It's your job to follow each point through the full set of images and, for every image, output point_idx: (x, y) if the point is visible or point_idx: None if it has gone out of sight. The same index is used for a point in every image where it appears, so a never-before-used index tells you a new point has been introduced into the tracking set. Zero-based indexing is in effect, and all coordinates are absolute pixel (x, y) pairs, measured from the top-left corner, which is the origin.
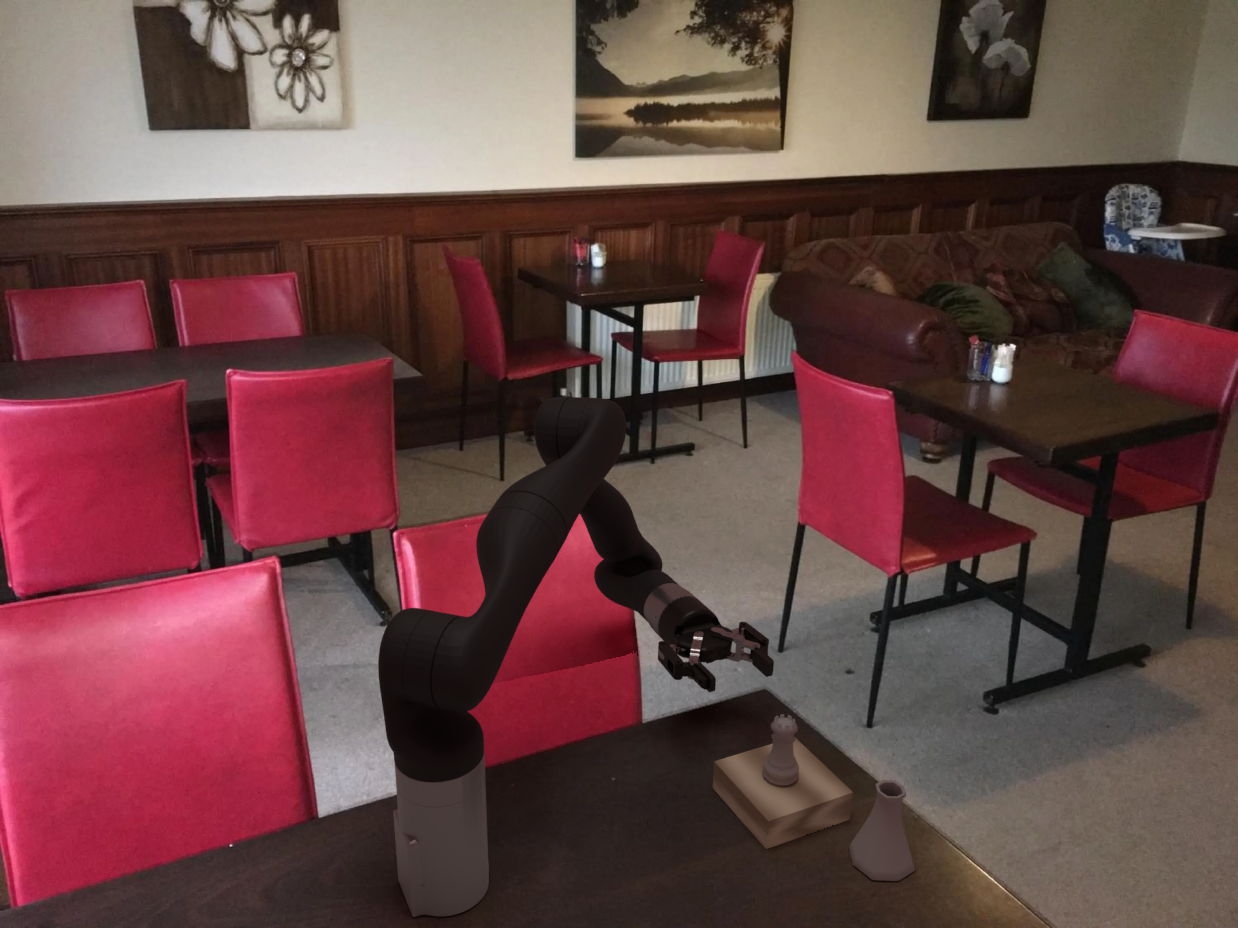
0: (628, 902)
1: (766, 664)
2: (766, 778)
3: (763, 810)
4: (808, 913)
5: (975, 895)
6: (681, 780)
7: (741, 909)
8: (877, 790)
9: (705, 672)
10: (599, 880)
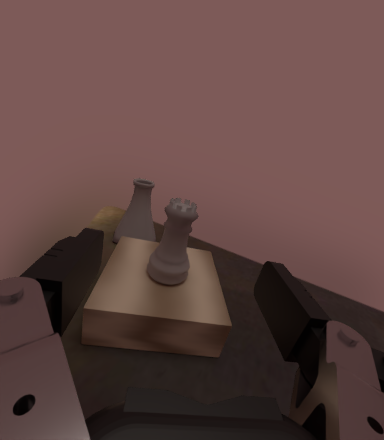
0: (311, 290)
1: (100, 241)
2: (187, 271)
3: (209, 258)
4: (203, 243)
5: (113, 213)
6: (258, 396)
7: (239, 258)
8: (153, 185)
9: (294, 278)
10: (337, 312)
